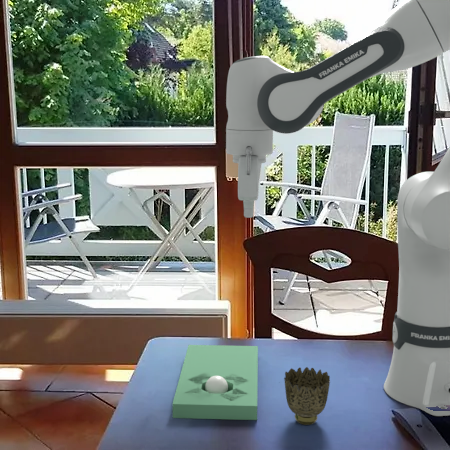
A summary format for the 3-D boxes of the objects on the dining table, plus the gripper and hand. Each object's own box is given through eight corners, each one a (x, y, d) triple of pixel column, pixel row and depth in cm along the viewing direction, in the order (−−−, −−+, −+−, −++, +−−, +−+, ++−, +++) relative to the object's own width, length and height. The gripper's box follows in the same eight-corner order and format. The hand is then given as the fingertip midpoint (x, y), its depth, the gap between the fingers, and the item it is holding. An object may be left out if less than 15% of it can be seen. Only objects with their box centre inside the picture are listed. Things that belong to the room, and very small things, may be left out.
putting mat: (257, 357, 138) (257, 346, 137) (257, 420, 112) (257, 406, 112) (188, 356, 138) (188, 344, 138) (172, 417, 113) (172, 403, 112)
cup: (327, 434, 108) (329, 387, 106) (280, 430, 109) (281, 383, 107) (329, 412, 115) (331, 368, 113) (286, 408, 116) (287, 364, 115)
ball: (228, 388, 122) (227, 370, 121) (228, 403, 119) (227, 385, 117) (206, 388, 123) (205, 371, 121) (205, 404, 119) (204, 386, 117)
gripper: (266, 149, 119) (265, 227, 122) (265, 140, 139) (264, 207, 142) (230, 149, 119) (230, 227, 122) (234, 140, 139) (234, 206, 142)
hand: (248, 216), depth 132 cm, fingers closed
